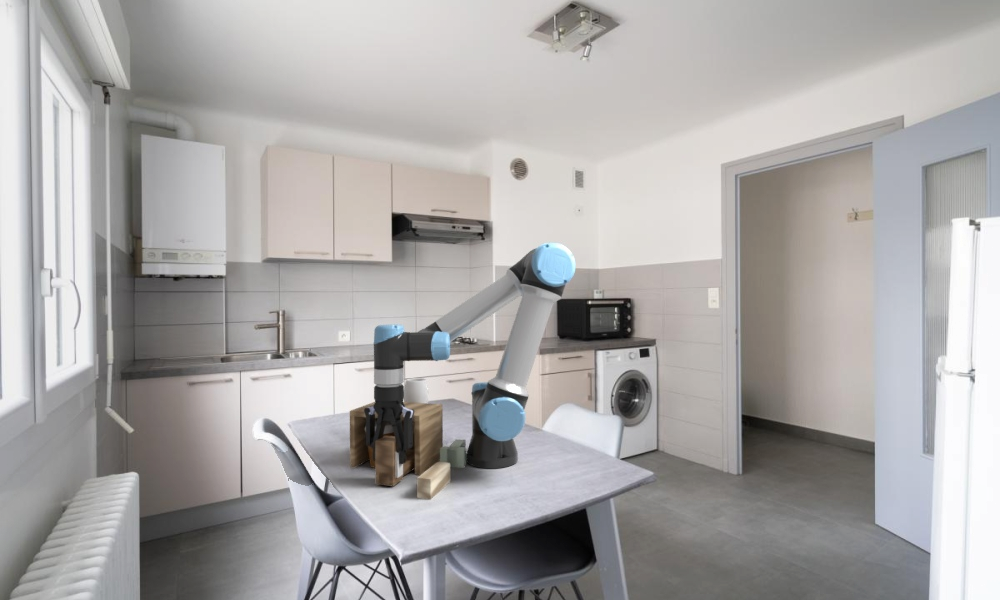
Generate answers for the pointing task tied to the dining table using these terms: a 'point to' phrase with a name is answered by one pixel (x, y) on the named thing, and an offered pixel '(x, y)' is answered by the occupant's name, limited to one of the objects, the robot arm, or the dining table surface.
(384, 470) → the crook
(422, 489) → the beech stick
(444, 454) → the tee stick
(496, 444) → the robot arm
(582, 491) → the dining table surface
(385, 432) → the disposable coffee cup
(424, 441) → the wooden storage bin
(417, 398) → the wineglass
